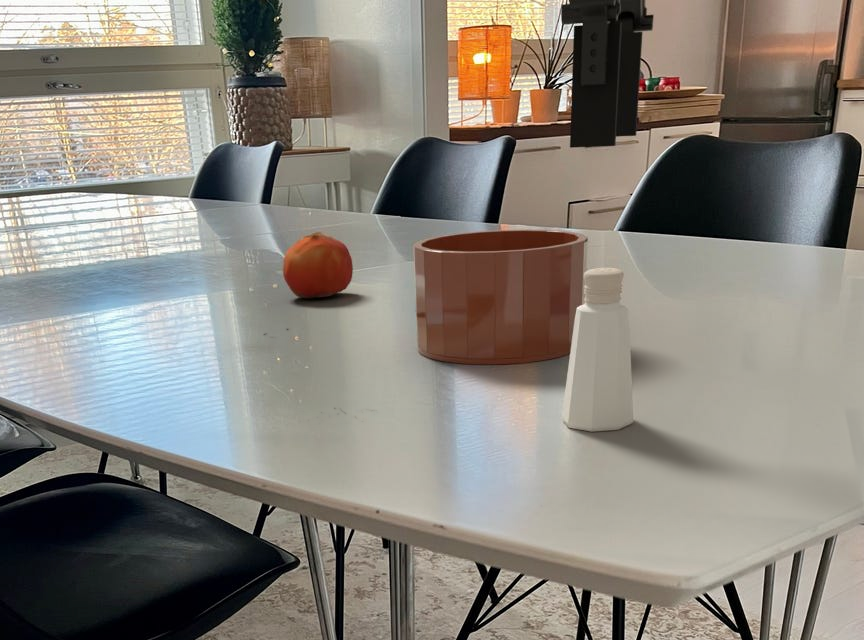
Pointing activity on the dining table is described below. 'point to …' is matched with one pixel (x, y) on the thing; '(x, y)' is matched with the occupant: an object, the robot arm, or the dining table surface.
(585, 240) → the crock
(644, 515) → the dining table surface
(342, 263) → the tomato
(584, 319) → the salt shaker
